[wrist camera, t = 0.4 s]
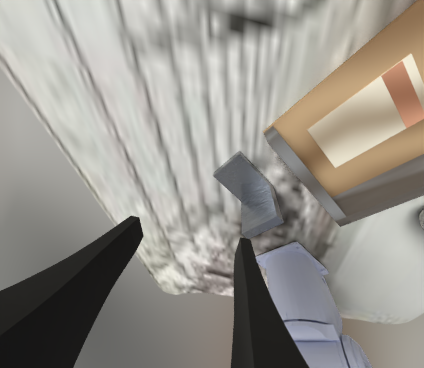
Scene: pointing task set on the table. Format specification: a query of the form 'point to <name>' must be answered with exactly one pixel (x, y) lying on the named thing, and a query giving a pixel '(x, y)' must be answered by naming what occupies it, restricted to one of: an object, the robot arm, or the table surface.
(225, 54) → the table surface
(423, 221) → the donut
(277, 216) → the bracket
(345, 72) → the tray
